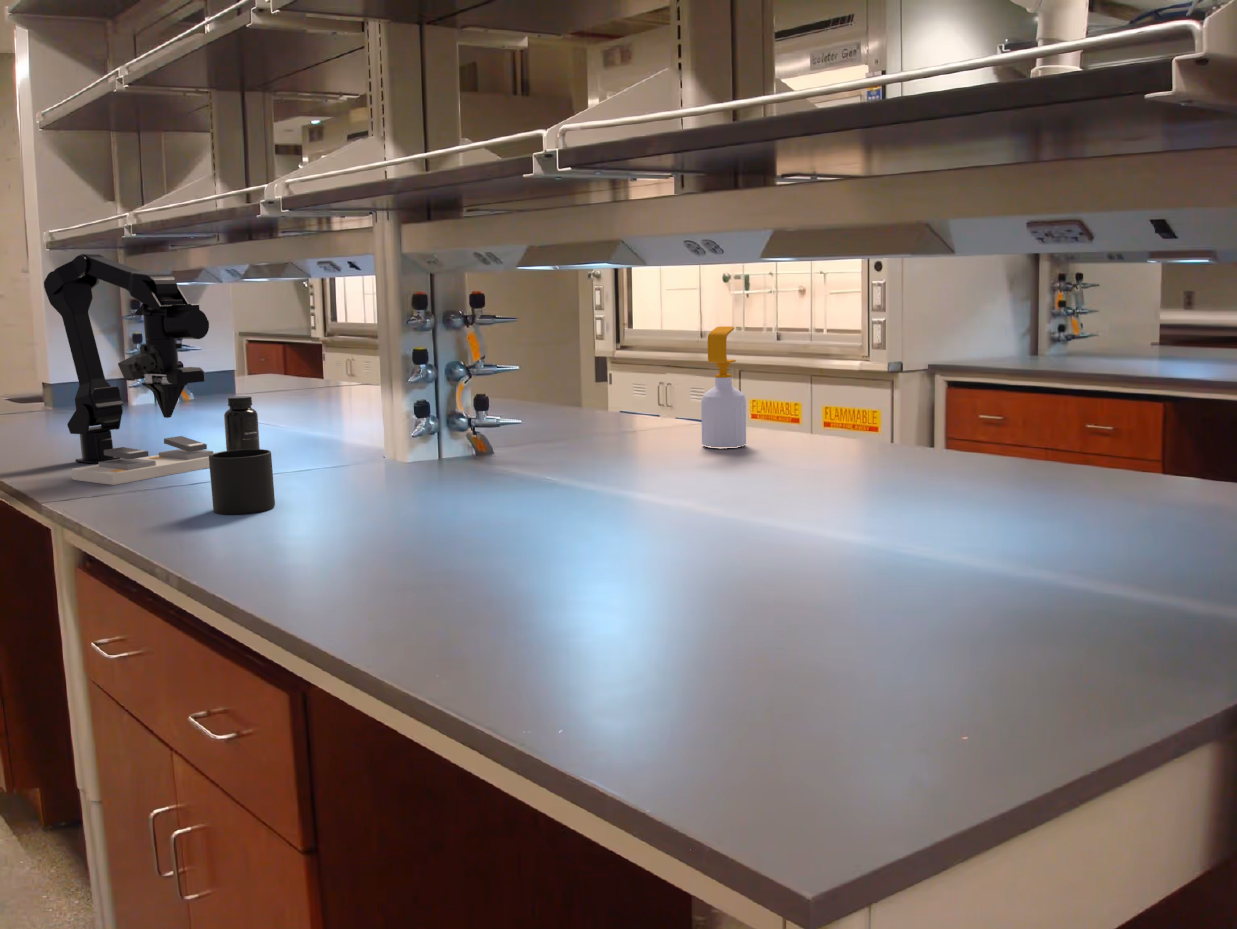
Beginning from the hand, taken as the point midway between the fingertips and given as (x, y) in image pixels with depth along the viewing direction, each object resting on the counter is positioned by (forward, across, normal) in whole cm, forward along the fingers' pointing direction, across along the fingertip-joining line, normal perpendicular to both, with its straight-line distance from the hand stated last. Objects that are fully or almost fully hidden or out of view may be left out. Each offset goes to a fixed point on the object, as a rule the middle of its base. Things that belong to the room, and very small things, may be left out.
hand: (167, 417), depth 225 cm
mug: (+10, +50, -20) cm, 54 cm away
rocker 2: (+6, +3, +2) cm, 7 cm away
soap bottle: (+9, +87, +70) cm, 112 cm away
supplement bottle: (+10, -2, +18) cm, 21 cm away
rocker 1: (+6, +3, -12) cm, 13 cm away
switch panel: (+10, +3, -6) cm, 12 cm away
